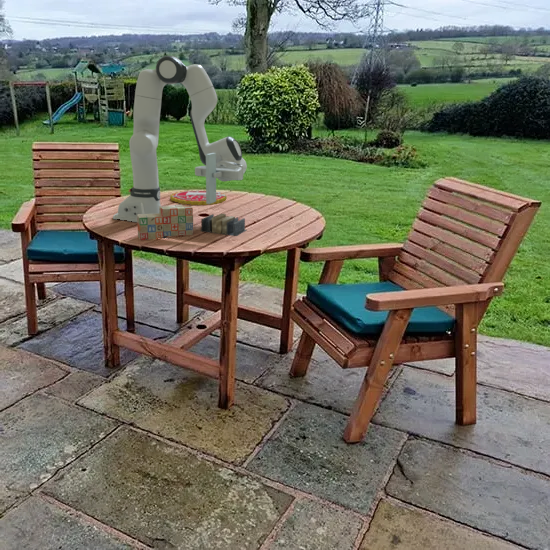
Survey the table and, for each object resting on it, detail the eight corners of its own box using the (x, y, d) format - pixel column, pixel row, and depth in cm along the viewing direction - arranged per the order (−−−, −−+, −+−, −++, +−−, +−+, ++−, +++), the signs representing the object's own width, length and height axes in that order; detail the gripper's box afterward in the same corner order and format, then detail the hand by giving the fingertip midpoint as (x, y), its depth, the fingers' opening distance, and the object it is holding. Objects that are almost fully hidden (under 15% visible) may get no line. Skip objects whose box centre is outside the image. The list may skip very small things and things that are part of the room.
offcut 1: (211, 232, 219) (211, 217, 217) (221, 227, 227) (221, 213, 225) (216, 232, 219) (216, 218, 217) (225, 227, 226) (225, 213, 224)
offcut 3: (222, 233, 218) (222, 220, 216) (230, 228, 225) (230, 216, 223) (226, 233, 217) (226, 220, 216) (235, 229, 225) (235, 216, 223)
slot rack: (199, 233, 220) (199, 219, 218) (212, 227, 230) (211, 213, 228) (236, 238, 215) (236, 224, 213) (247, 232, 225) (247, 218, 223)
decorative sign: (221, 189, 301) (231, 200, 274) (221, 193, 302) (231, 205, 275) (167, 190, 294) (172, 201, 267) (167, 194, 295) (173, 206, 267)
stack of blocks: (140, 240, 208) (138, 210, 204) (137, 236, 213) (136, 206, 209) (193, 237, 215) (193, 207, 211) (190, 233, 221) (189, 204, 217)
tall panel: (206, 203, 218) (205, 154, 211) (213, 201, 223) (212, 152, 216) (209, 204, 217) (209, 154, 211) (216, 201, 223) (215, 153, 216)
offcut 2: (216, 232, 218) (216, 221, 216) (226, 227, 227) (226, 216, 225) (220, 233, 217) (220, 221, 216) (231, 228, 226) (231, 216, 224)
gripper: (203, 161, 230) (187, 165, 218) (246, 165, 223) (232, 169, 211) (203, 175, 232) (187, 180, 220) (246, 180, 225) (232, 185, 213)
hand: (210, 175), depth 215 cm, fingers closed on tall panel, 1 cm apart
